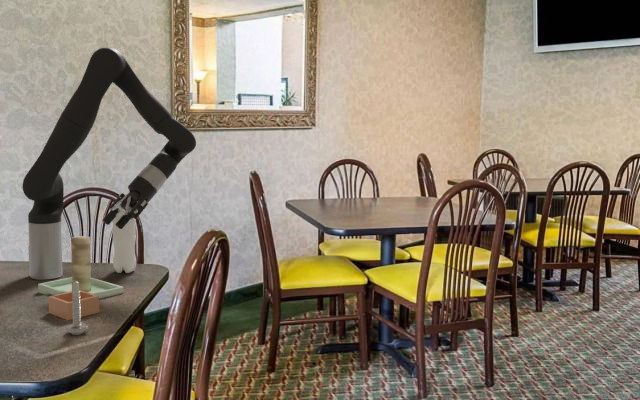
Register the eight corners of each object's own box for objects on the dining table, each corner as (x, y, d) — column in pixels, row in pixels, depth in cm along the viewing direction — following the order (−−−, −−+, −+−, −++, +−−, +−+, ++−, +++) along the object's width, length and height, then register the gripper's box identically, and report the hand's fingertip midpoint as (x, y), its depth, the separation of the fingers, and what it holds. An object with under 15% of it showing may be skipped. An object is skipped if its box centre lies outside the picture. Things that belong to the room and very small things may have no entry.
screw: (86, 339, 143) (63, 340, 142) (89, 332, 148) (67, 333, 147) (85, 283, 141) (62, 283, 140) (88, 277, 146) (66, 278, 145)
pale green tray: (38, 292, 179) (38, 283, 179) (82, 283, 190) (82, 274, 190) (78, 306, 167) (78, 297, 167) (123, 295, 178) (123, 286, 178)
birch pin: (68, 290, 178) (67, 237, 176) (84, 287, 182) (84, 235, 180) (78, 293, 175) (77, 240, 173) (94, 290, 179) (94, 238, 177)
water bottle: (129, 275, 201) (128, 196, 198) (108, 273, 203) (107, 195, 199) (140, 269, 208) (139, 194, 205) (120, 268, 210) (119, 193, 206)
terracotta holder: (48, 316, 159) (48, 296, 158) (79, 308, 166) (79, 289, 165) (68, 323, 154) (67, 303, 153) (99, 315, 160) (99, 296, 160)
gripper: (128, 172, 192) (92, 213, 185) (151, 176, 181) (113, 220, 175) (144, 189, 196) (109, 229, 190) (167, 194, 186) (131, 237, 179)
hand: (111, 225), depth 182 cm, fingers open, 8 cm apart
